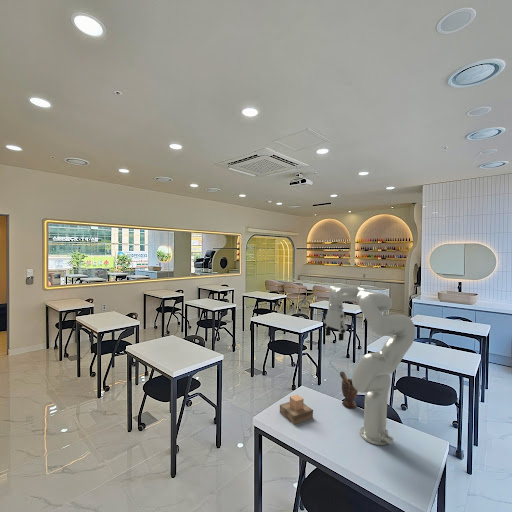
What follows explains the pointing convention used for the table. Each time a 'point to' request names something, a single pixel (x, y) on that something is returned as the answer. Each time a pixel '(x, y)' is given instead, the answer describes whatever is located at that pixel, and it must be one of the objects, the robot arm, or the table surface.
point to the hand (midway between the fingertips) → (334, 337)
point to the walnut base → (296, 413)
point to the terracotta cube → (296, 402)
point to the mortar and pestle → (348, 391)
